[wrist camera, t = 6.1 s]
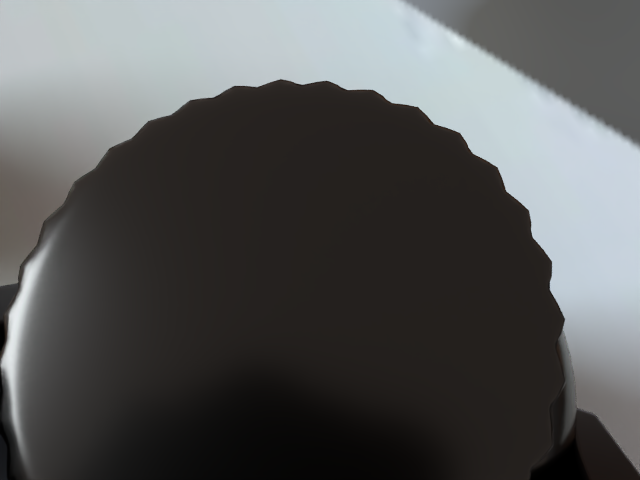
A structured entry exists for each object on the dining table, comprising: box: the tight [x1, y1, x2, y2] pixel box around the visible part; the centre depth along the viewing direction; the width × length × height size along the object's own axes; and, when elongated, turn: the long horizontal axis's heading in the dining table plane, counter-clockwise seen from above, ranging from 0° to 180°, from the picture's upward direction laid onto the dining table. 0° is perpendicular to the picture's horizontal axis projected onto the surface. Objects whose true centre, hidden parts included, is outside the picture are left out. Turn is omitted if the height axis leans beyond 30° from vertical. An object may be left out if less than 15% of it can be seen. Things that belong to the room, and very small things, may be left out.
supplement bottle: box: [0, 79, 577, 480], centre depth 10 cm, size 7×7×12 cm
